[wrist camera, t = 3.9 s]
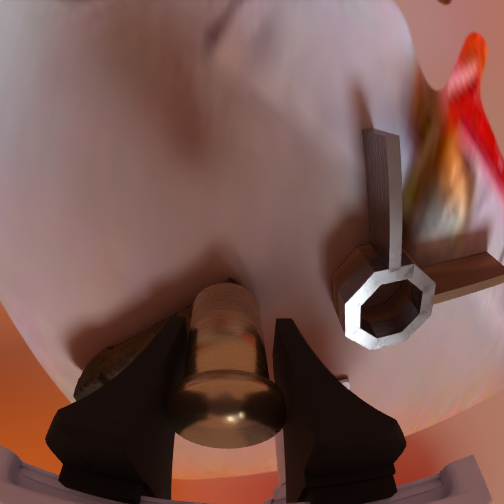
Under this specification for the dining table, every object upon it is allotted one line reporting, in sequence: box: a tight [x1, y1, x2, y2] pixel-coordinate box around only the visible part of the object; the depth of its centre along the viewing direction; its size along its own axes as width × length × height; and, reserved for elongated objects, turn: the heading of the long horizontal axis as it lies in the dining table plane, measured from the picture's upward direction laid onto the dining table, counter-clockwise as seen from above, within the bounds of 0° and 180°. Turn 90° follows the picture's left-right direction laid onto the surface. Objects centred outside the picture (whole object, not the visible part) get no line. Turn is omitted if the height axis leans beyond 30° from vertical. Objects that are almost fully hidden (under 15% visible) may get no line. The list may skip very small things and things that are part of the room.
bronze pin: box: [166, 283, 287, 449], centre depth 12 cm, size 4×4×6 cm
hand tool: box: [73, 278, 239, 401], centre depth 22 cm, size 19×4×5 cm, turn 120°
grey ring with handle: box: [338, 129, 436, 350], centre depth 19 cm, size 14×6×4 cm, turn 11°
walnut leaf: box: [332, 244, 504, 323], centre depth 21 cm, size 6×14×4 cm, turn 100°
